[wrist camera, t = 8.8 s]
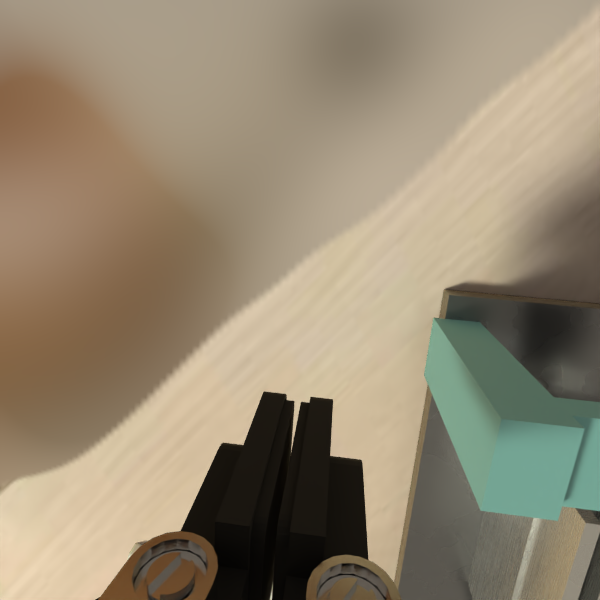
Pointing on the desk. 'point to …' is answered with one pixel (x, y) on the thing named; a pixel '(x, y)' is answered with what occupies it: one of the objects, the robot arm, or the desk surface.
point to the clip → (512, 426)
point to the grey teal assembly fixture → (457, 491)
